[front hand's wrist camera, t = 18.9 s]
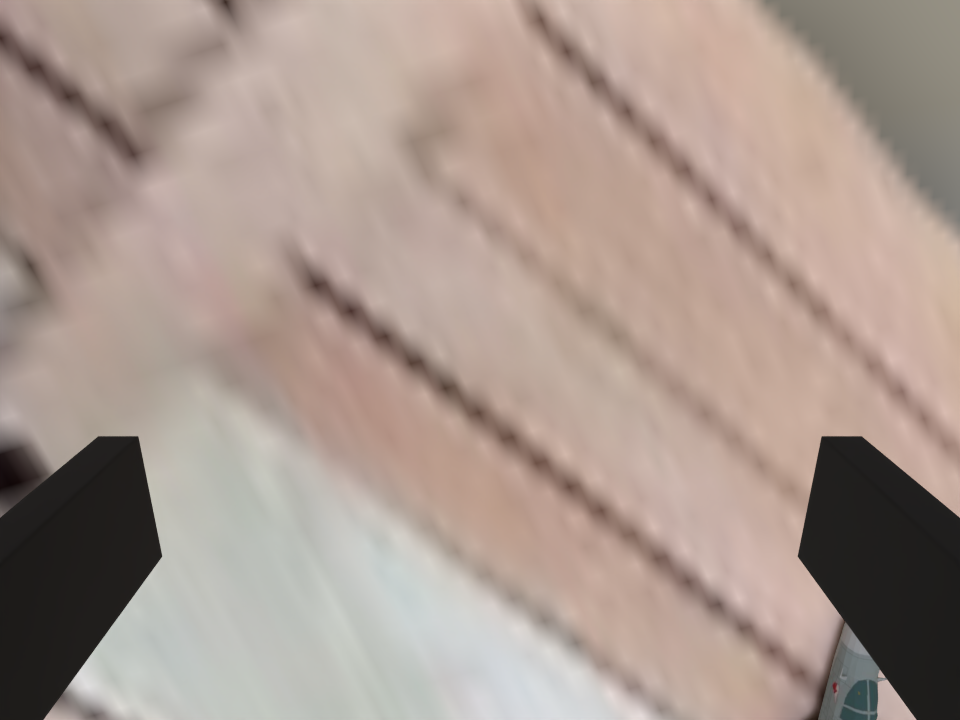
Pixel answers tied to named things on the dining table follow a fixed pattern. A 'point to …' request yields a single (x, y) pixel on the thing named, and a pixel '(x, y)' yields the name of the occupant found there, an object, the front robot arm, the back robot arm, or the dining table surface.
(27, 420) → the dining table surface
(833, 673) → the airplane
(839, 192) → the dining table surface
